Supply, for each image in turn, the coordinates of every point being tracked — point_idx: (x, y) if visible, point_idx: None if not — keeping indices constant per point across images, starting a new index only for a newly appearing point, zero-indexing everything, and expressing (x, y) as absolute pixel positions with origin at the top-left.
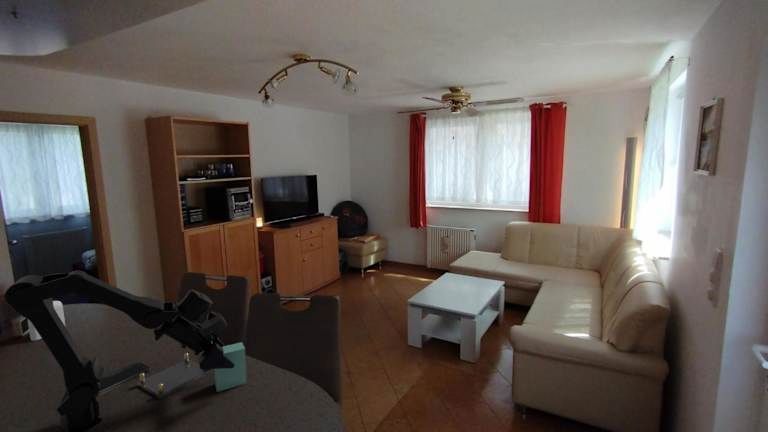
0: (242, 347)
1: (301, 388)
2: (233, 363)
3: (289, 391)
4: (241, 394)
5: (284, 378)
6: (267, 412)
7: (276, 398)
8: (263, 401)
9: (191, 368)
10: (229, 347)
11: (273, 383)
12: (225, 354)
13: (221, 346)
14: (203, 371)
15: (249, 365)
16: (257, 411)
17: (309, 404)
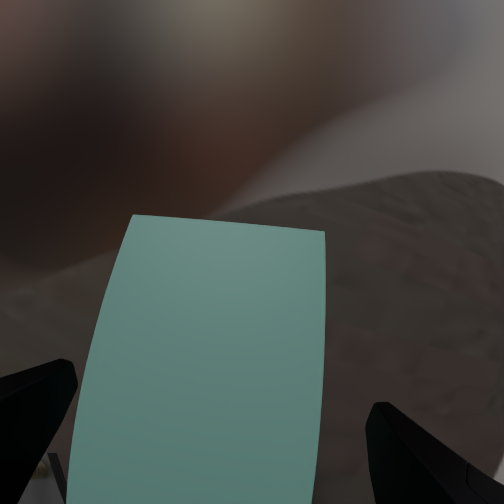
0: (279, 246)
1: (419, 193)
2: (388, 411)
3: (424, 226)
4: (362, 397)
5: (335, 207)
6: (500, 324)
7: (448, 276)
8: (449, 322)
9: None
10: (156, 391)
11: (350, 251)
12: (311, 488)
13: (15, 415)
14: (49, 483)
15: None
16: (488, 354)
17: (490, 212)
